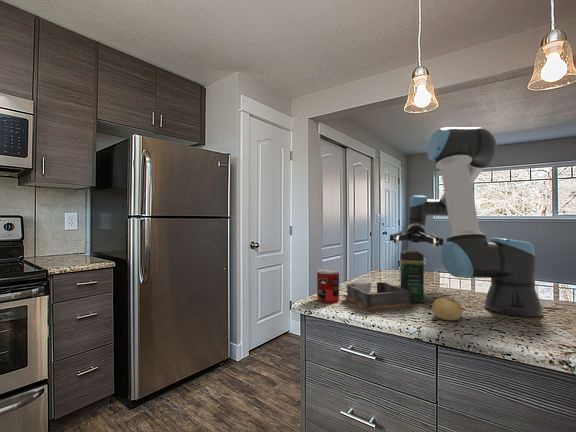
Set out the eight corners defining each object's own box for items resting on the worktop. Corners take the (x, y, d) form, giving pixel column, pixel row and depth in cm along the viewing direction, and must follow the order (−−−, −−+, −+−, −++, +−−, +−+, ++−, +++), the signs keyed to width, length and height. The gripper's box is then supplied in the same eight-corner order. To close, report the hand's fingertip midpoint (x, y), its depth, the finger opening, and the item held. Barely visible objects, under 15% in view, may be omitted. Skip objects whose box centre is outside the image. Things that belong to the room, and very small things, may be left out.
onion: (428, 319, 91) (428, 295, 91) (436, 313, 97) (436, 290, 97) (459, 325, 86) (458, 300, 86) (464, 318, 92) (464, 294, 92)
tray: (410, 307, 103) (410, 291, 103) (368, 311, 99) (368, 294, 99) (383, 296, 118) (383, 282, 118) (346, 299, 114) (346, 284, 114)
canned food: (315, 298, 116) (315, 269, 116) (335, 297, 117) (335, 268, 117) (319, 303, 108) (319, 272, 108) (341, 302, 109) (341, 272, 109)
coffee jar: (426, 304, 107) (425, 251, 108) (402, 302, 109) (401, 250, 110) (421, 297, 117) (421, 248, 117) (399, 296, 119) (399, 248, 119)
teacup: (369, 292, 124) (369, 279, 124) (373, 297, 117) (373, 283, 117) (344, 292, 125) (344, 279, 125) (346, 297, 118) (346, 283, 118)
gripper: (446, 243, 133) (450, 257, 114) (386, 238, 143) (381, 250, 124) (448, 226, 132) (452, 237, 113) (387, 222, 142) (382, 232, 122)
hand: (415, 244), depth 118 cm, fingers open, 13 cm apart
